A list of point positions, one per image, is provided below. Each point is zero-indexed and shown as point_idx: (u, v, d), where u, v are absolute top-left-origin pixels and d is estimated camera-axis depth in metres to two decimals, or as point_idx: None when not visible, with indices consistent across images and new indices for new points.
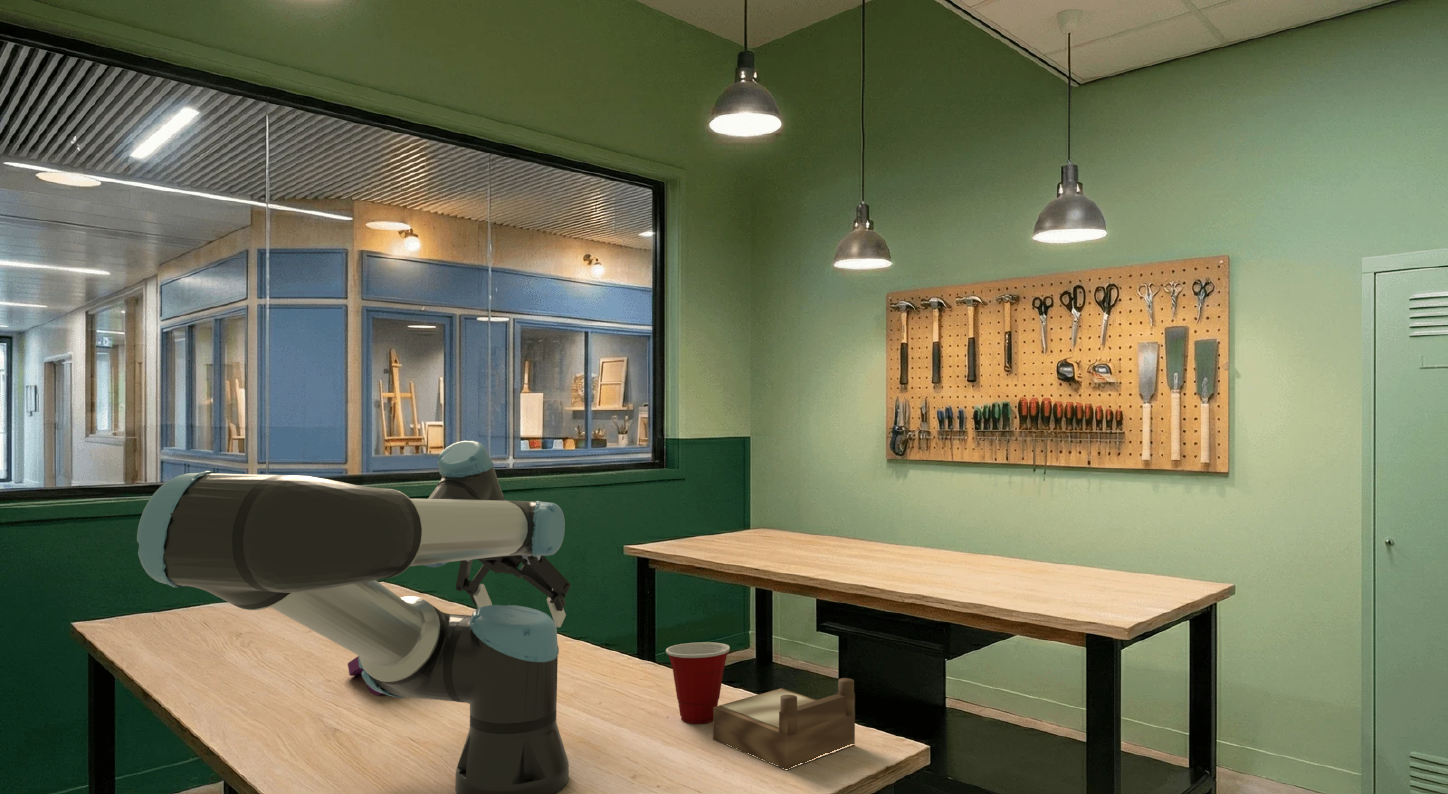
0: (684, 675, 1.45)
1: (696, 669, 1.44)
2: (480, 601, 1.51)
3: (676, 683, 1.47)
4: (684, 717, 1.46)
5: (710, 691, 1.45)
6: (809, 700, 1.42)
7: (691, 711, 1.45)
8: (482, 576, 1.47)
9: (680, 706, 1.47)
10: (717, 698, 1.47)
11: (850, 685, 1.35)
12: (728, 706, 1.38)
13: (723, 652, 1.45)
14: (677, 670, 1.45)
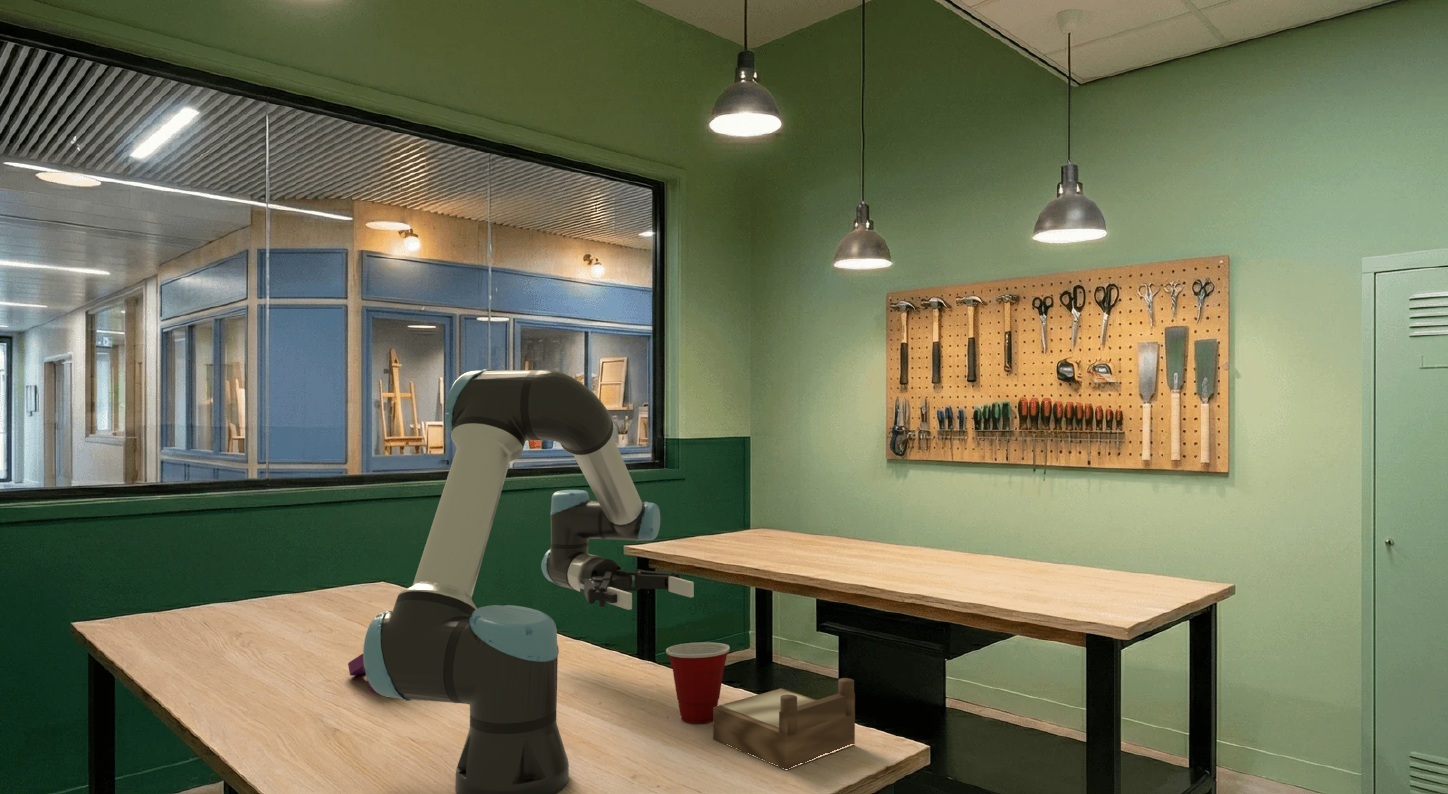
0: (684, 675, 1.45)
1: (696, 669, 1.44)
2: None
3: (676, 683, 1.47)
4: (684, 717, 1.46)
5: (710, 691, 1.45)
6: (809, 700, 1.42)
7: (691, 711, 1.45)
8: (607, 581, 1.61)
9: (680, 706, 1.47)
10: (717, 698, 1.47)
11: (850, 685, 1.35)
12: (728, 706, 1.38)
13: (723, 652, 1.45)
14: (677, 670, 1.45)
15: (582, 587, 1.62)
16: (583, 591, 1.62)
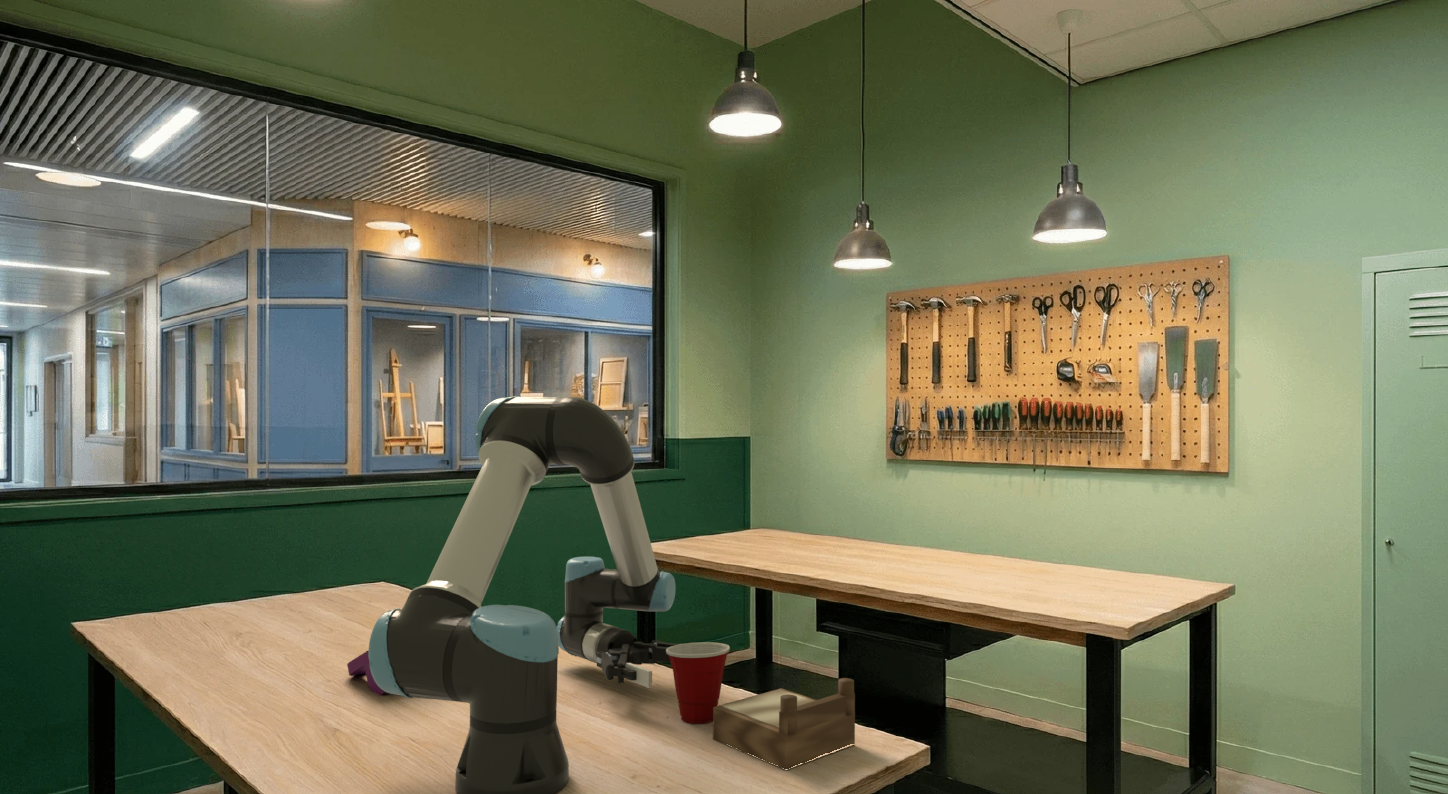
0: (684, 675, 1.45)
1: (696, 669, 1.44)
2: None
3: (676, 683, 1.47)
4: (684, 717, 1.46)
5: (710, 691, 1.45)
6: (809, 700, 1.42)
7: (691, 711, 1.45)
8: (625, 655, 1.58)
9: (680, 706, 1.47)
10: (717, 698, 1.47)
11: (850, 685, 1.35)
12: (728, 706, 1.38)
13: (723, 652, 1.45)
14: (677, 670, 1.45)
15: (599, 661, 1.59)
16: (600, 665, 1.59)
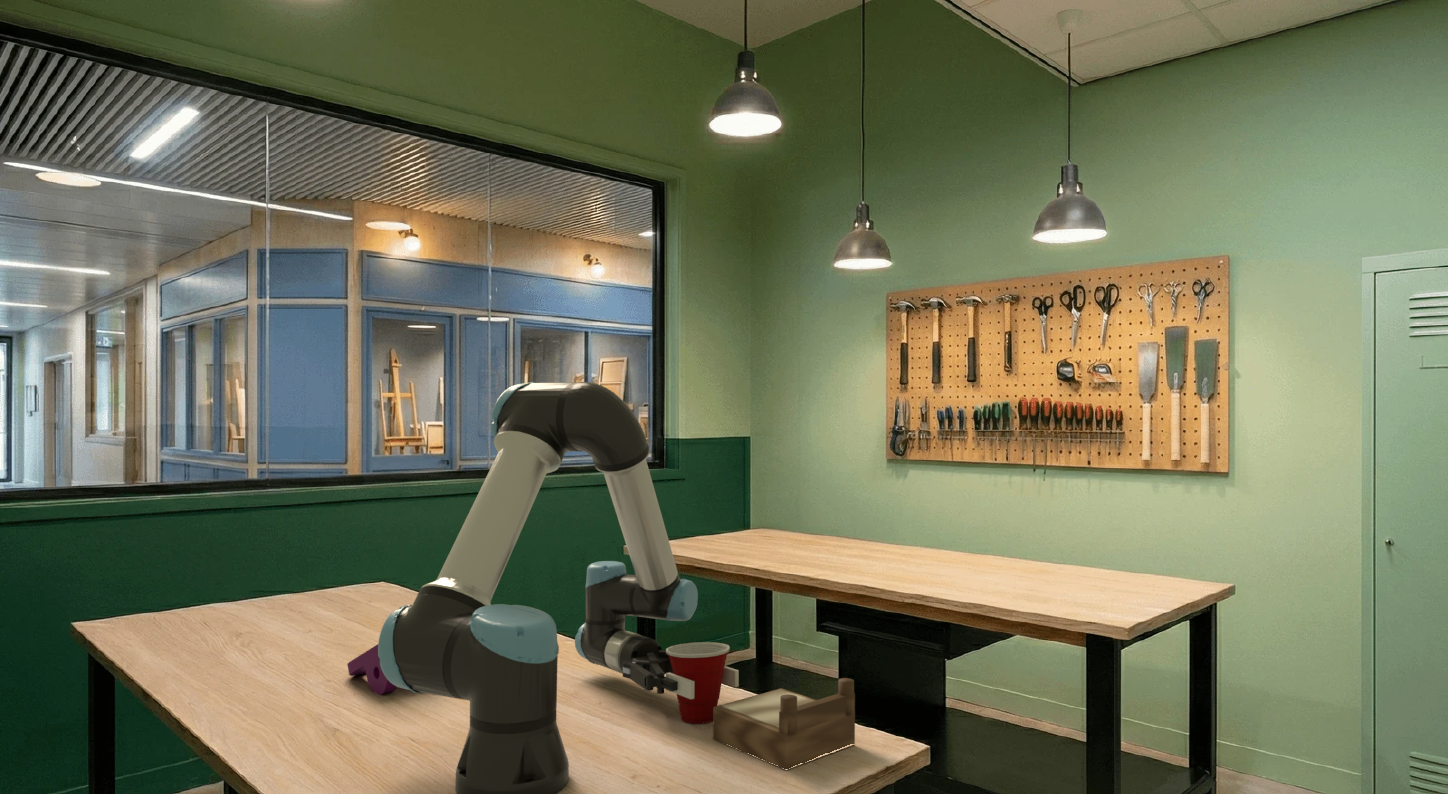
0: (684, 675, 1.45)
1: (696, 669, 1.44)
2: None
3: None
4: (684, 717, 1.46)
5: (710, 691, 1.45)
6: (809, 700, 1.42)
7: (691, 711, 1.45)
8: (656, 664, 1.52)
9: (680, 706, 1.47)
10: (717, 698, 1.47)
11: (850, 685, 1.35)
12: (728, 706, 1.38)
13: (723, 652, 1.45)
14: (677, 670, 1.45)
15: (627, 671, 1.52)
16: (629, 676, 1.52)
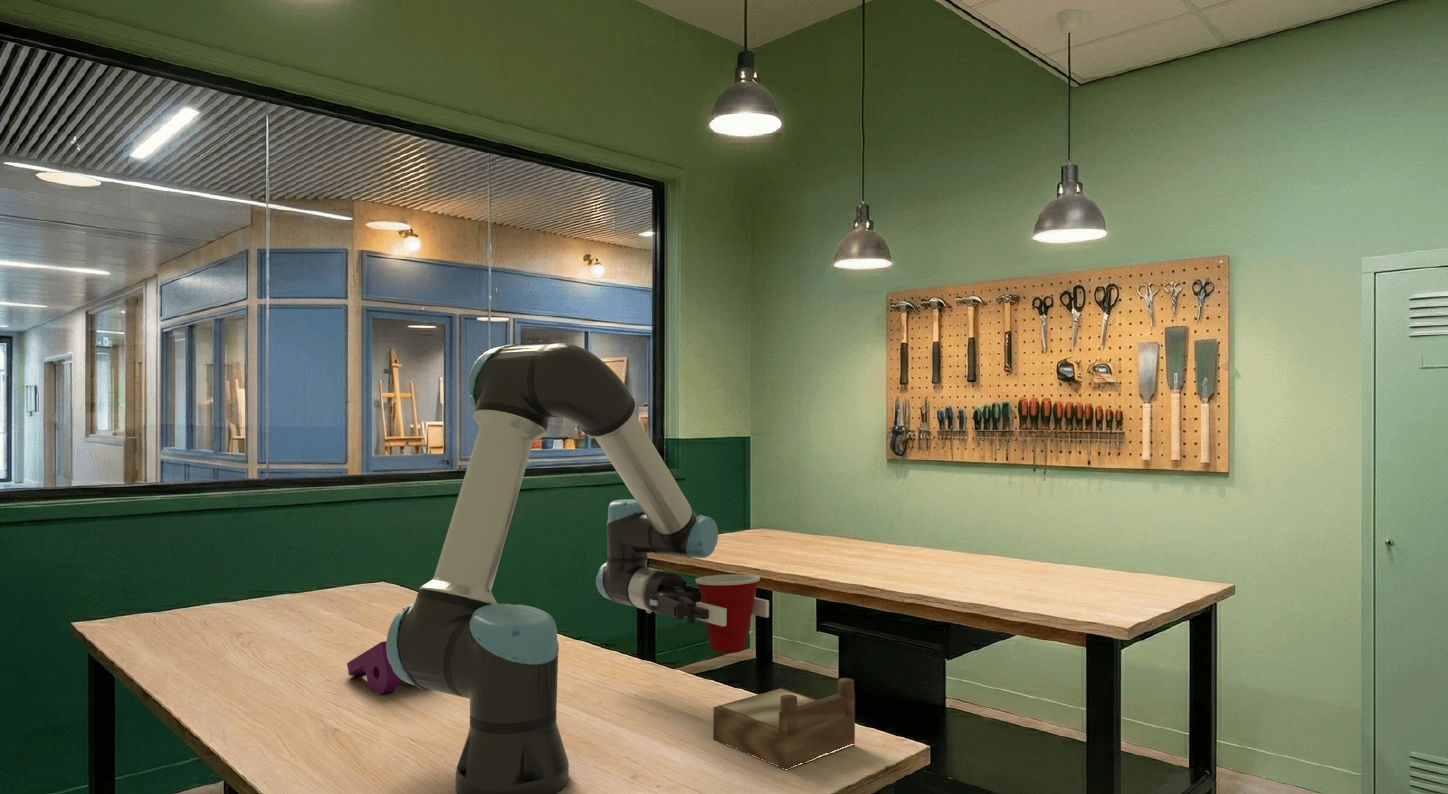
0: (714, 603, 1.43)
1: (727, 597, 1.42)
2: None
3: None
4: (714, 647, 1.44)
5: (741, 619, 1.43)
6: (809, 700, 1.42)
7: (722, 640, 1.43)
8: (684, 596, 1.50)
9: (710, 636, 1.45)
10: (747, 628, 1.45)
11: (850, 685, 1.35)
12: (728, 706, 1.38)
13: (754, 580, 1.44)
14: (707, 599, 1.43)
15: (654, 603, 1.50)
16: (656, 608, 1.49)
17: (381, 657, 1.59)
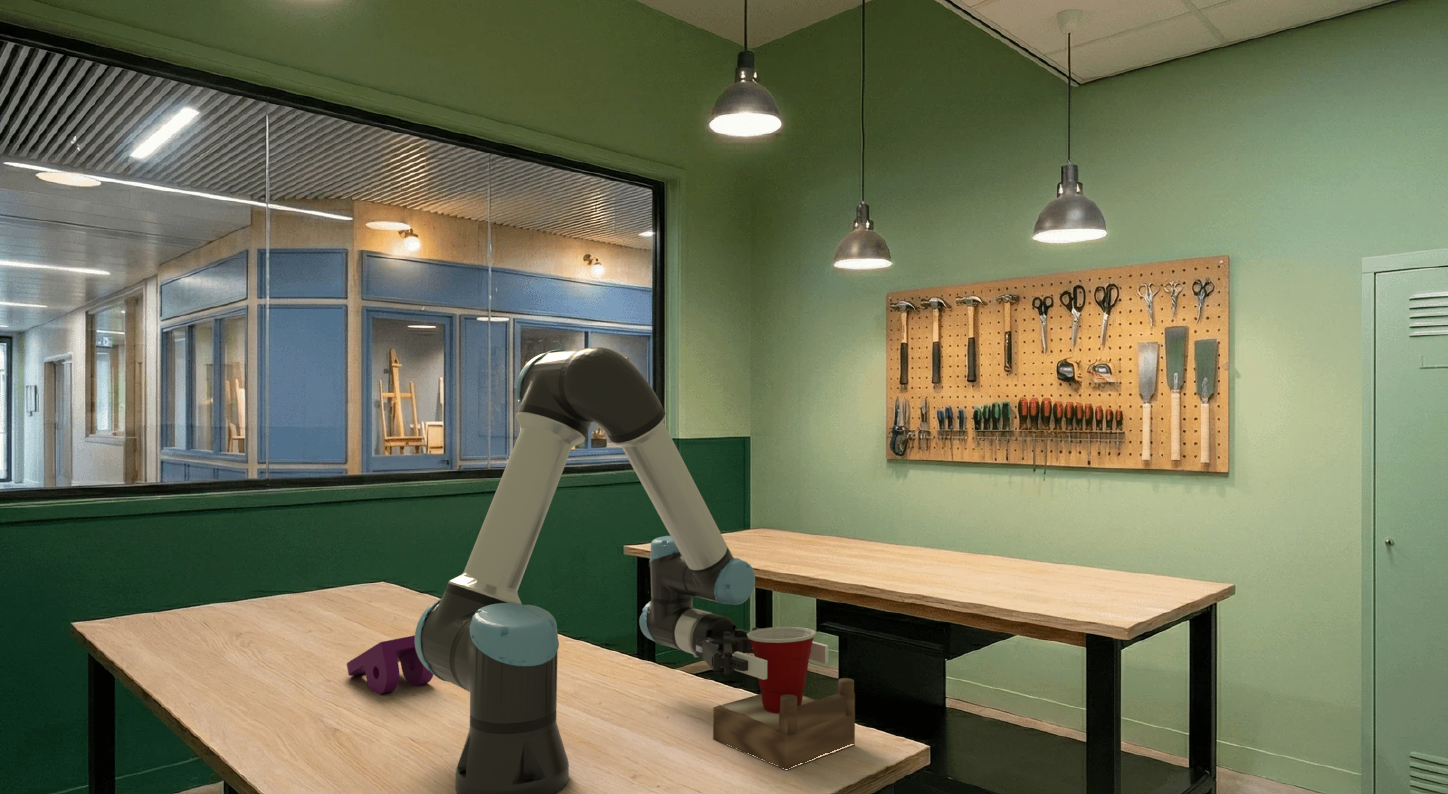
0: (768, 661, 1.34)
1: (782, 654, 1.34)
2: None
3: None
4: (768, 707, 1.36)
5: (796, 678, 1.35)
6: (809, 700, 1.42)
7: (776, 700, 1.35)
8: (729, 643, 1.42)
9: (763, 695, 1.36)
10: (803, 686, 1.36)
11: (850, 685, 1.35)
12: (728, 706, 1.38)
13: (810, 636, 1.35)
14: (761, 656, 1.35)
15: (699, 650, 1.42)
16: (701, 655, 1.42)
17: (381, 657, 1.59)
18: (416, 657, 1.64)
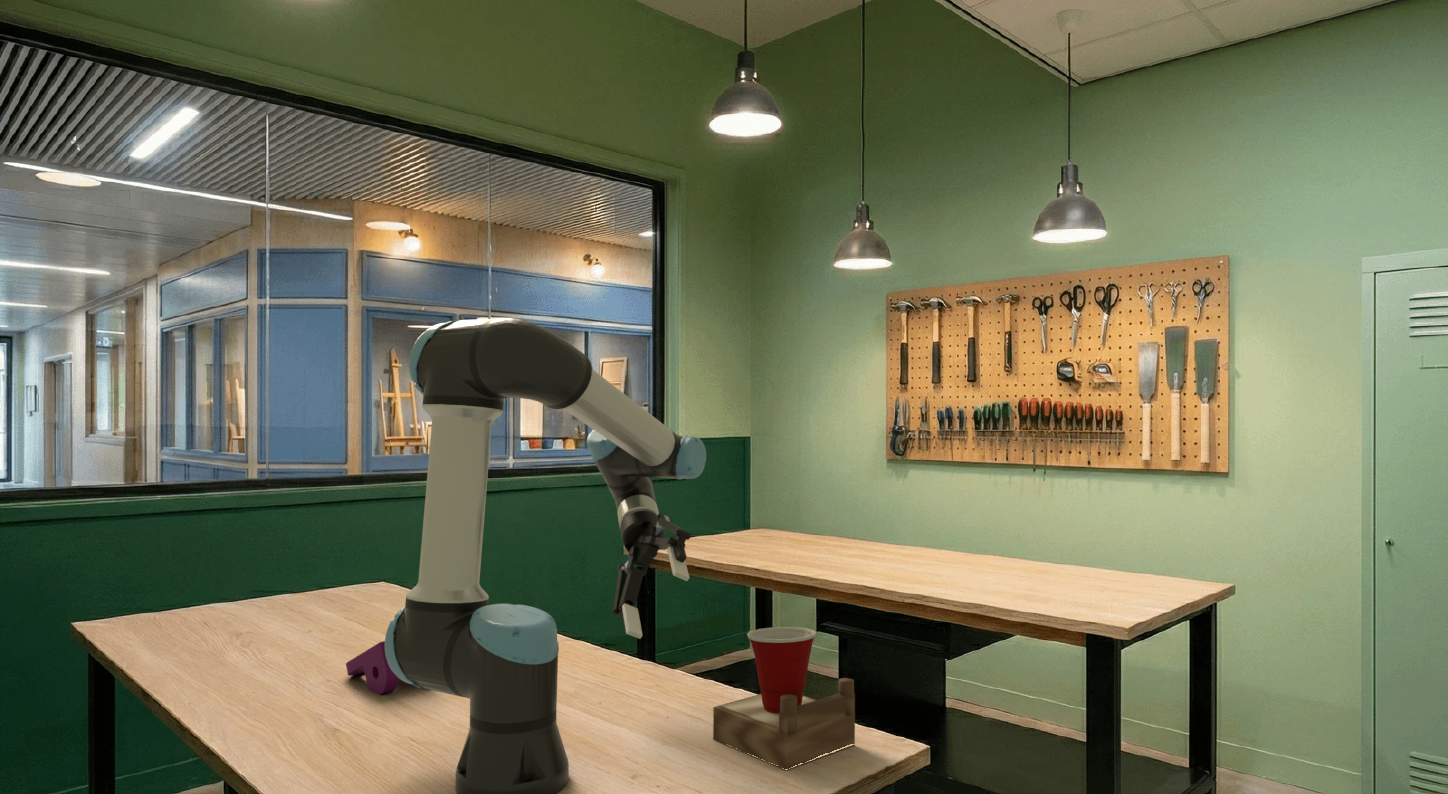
0: (768, 661, 1.34)
1: (782, 655, 1.34)
2: (626, 610, 1.48)
3: (759, 670, 1.36)
4: (768, 707, 1.36)
5: (796, 678, 1.35)
6: (809, 700, 1.42)
7: (776, 700, 1.35)
8: (629, 575, 1.53)
9: (763, 695, 1.36)
10: (803, 686, 1.36)
11: (850, 685, 1.35)
12: (728, 706, 1.38)
13: (810, 637, 1.35)
14: (761, 656, 1.35)
15: None
16: None
17: (380, 657, 1.59)
18: None
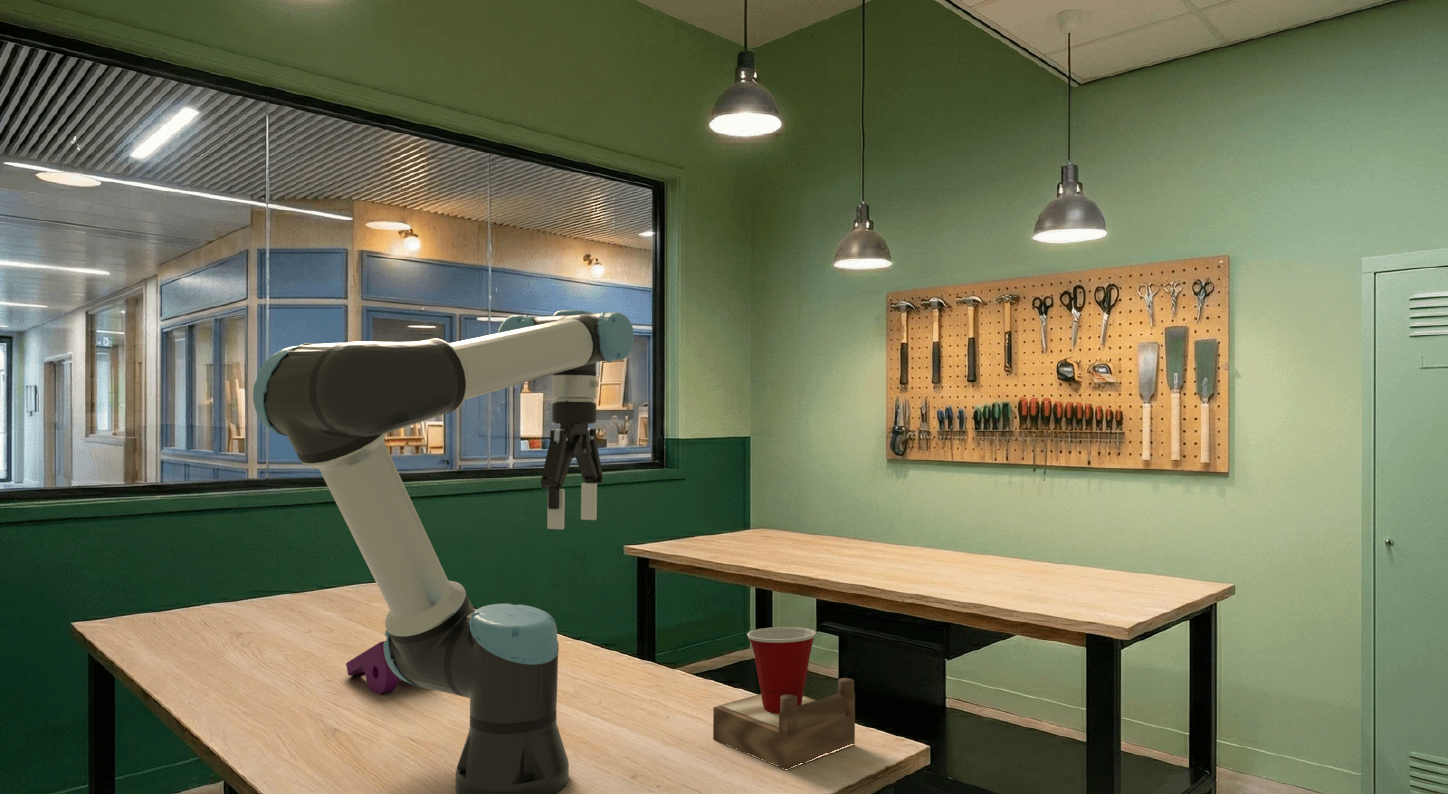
0: (768, 661, 1.34)
1: (782, 655, 1.34)
2: (582, 492, 1.59)
3: (759, 670, 1.36)
4: (768, 707, 1.36)
5: (796, 678, 1.35)
6: (809, 700, 1.42)
7: (776, 700, 1.35)
8: None
9: (763, 695, 1.36)
10: (803, 686, 1.36)
11: (850, 685, 1.35)
12: (728, 706, 1.38)
13: (810, 637, 1.35)
14: (761, 656, 1.35)
15: None
16: None
17: (381, 657, 1.59)
18: None
